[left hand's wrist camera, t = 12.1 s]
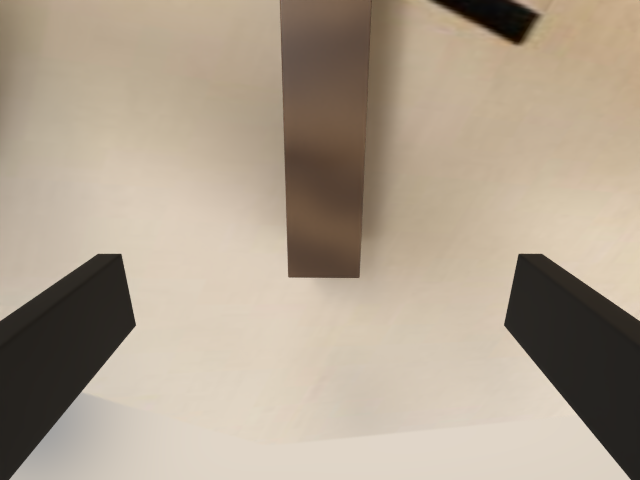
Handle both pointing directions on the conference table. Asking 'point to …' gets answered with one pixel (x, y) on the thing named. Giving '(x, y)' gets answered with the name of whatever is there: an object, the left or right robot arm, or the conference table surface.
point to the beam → (324, 133)
